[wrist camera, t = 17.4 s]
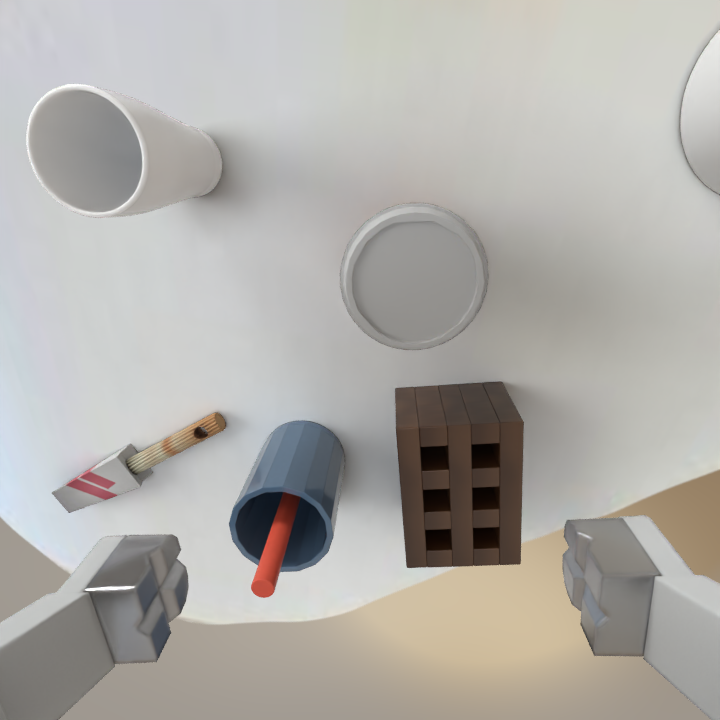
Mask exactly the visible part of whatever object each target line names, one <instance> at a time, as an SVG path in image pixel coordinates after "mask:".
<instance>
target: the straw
mask: <svg viewBox="0 0 720 720" xmlns="http://www.w3.org/2000/svg"><path fill="white" fill-rule="evenodd" d="M300 498H301V497H299V496H296V495H293V494H289V493H286V492H283V495H282V498H281V501H280V504H279V506H278V509H277V512H276V515H275V518H274V521H273V524H272V527H271V530H270V533H269V536H268V539H267V541H266V544H265V547H264V550H263V553H262V556H261V559H260V562H259V565H258V568H257V571H256V574H255V577H254V579H253V582H252V585H251V589H252V591H253V593H254V594H255V595H257V596H259V597H263V598H265V597H269V596H271V595H272V594H273V593H274V590H275V587H276V583H277V580H278V576H279V573H280V569H281V566H282V562H283V558H284V555H285V551H286V548H287V544H288V541H289V537H290V534H291V530H292V527H293V523H294V520H295V516H296V512H297V509H298V505H299V502H300Z"/></svg>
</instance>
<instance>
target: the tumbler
mask: <svg viewBox="0 0 720 720" xmlns="http://www.w3.org/2000/svg"><path fill="white" fill-rule="evenodd" d="M344 462H345V456H344V451H343V448H342V445H341V443H340V442H339V440H338V439H337V437H336V436H335V435H334V434H333V433H332V432H331V431H329V430H328V429H327V428H325V427H323V426H321V425H319V424H316V423H313V422H309V421H293V422H289V423H286V424H283V425H281V426H280V427H278V428H277V429H275V430H274V431H273V432H272V433H271V434H270V435H269V437H268V438H267V440H266V442H265V443H264V445H263V447H262V449H261V451H260V453H259V455H258V457H257V459H256V461H255V464H254V466H253V468H252V470H251V472H250V474H249V476H248V478H247V480H246V482H245V484H244V486H243V489H242V491H241V493H240V495H239V497H238V499H237V501H236V503H235V505H234V507H233V510H232V514H231V518H230V522H229V526H230V531H231V535H232V540H233V542H234V543H235V545H236V546H237V547H238V549H239V550H240V552H241V553H242V554H243V555H244V556H245V557H246V558H248V559H249V560H251V561H252V562H254V563H255V564H257V565H259V562H260V559H261V556H262V553H263V550H264V547H265V544H266V541H267V539H268V536H269V533H270V530H271V527H272V524H273V521H274V518H275V515H276V512H277V509H278V506H279V504H280V501H281V498H282V495H283V492H286V493H289V494H293V495H296V496H299V497H301V498H300V502H299V505H298V509H297V512H296V516H295V520H294V523H293V527H292V530H291V534H290V537H289V541H288V544H287V548H286V551H285V555H284V558H283V562H282V566H281V569H280V572H290V571H300V570H303V569H305V568H308V567H310V566H313V565H315V564H316V563H317V562H319V561H320V560H321V559H322V558H323V557H324V556H325V555H326V554H327V553H328V551H329V548H330V545H331V542H332V540H333V536H334V530H335V523H336V517H337V511H338V505H339V498H340V492H341V486H342V480H343V473H344V467H345V466H344Z"/></svg>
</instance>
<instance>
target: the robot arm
mask: <svg viewBox="0 0 720 720" xmlns="http://www.w3.org/2000/svg"><path fill="white" fill-rule="evenodd" d="M680 129H681V139H682V144H683V148H684V152H685V155H686V157H687V160H688V162H689V164H690V166H691V168H692V169H693V171H694V172H695V174H696V175H697V176H698V178H699V179H700V180H701V181H702V182H703V183H704V184H705V185H706V186H707V187H709V188H710V189H711V190H713V191H714V192H716V193H717V194H719V195H720V30H719V31H718V32H717V33H716V34H715V36H714V37H713V38H712V39H711V41H710V42H709V43H708V45H707V46H706V48H705V49H704V51H703V52H702V54H701V55H700V57H699V59H698V61H697V63H696V64H695V67H694V69H693V71H692V73H691V75H690V78H689V80H688V83H687V86H686V89H685V93H684V97H683V102H682V108H681V118H680ZM564 537H565V540H566V542H567V544H568V546H569V548H568V550H567V551H566V552H565V553H564V554H563V575H564V582H565V586H566V589H567V593H568V596H569V598H570V601H571V603H572V605H573V606H575V607H576V608H577V609H578V610H580V611H581V626H582V629H583V631H584V633H585V635H586V638H587V640H588V642H589V645H590V647H591V649H592V651H593V654H594V655H595V656H644V658H643V659H644V660H645V661H646V662H648V663H649V664H650V665H651V666H652V667H653V668H654V669H655V670H657V671H658V672H659V673H660V674H661V675H662V676H663V677H664V678H665V679H667V680H668V681H669V682H670V683H671V684H672V685H673V686H674V687H675V688H677V689H678V690H679V691H680V692H681V693H682V694H684V695H685V696H686V697H687V698H688V699H689V700H690V701H691V702H692V703H693V704H694V705H696V706H697V707H698V708H699V709H700V710H701V711H702V712H703V713H704V714H706V715H707V716H708V717H709V718H710V719H711V720H720V584H719V583H717V582H715V581H713V580H711V579H709V578H708V577H706V576H704V575H695V574H694V573H693V572H692V571H691V569H690V568H689V567H688V565H687V564H686V563H685V562H684V560H683V559H682V558H681V557H680V555H679V554H678V553H677V551H676V550H675V549H674V548H673V546H672V545H671V544H670V543H669V541H668V540H667V539H666V538H665V536H664V535H663V534H662V532H661V531H660V530H659V529H658V527H657V526H656V525H655V523H654V522H653V521H652V520H651V518H649V517H647V516H645V515H641V516H625V517H618V518H599V519H576V520H567V521H566V524H565V529H564ZM180 551H181V548H180V545H179V541H178V538H177V537H176V536H174V535H129V536H126V535H122V536H106V537H104V538H102V539H100V540H99V541H98V543H97V544H96V545H95V546H94V548H93V549H92V550H91V551H90V552H89V554H88V555H87V556H86V557H85V559H84V560H83V561H82V562H81V563H80V565H79V566H78V567H77V568H76V570H75V571H74V572H73V573H72V575H71V576H70V577H69V578H68V579H67V581H66V582H65V583H64V584H63V586H62V587H61V588H60V589H59V590H58V592H57V593H49V594H47V595H45V596H44V597H43V598H41V599H39V600H37V601H36V602H34V603H33V604H31V605H29V606H27V607H26V608H24V609H22V610H21V611H19V612H17V613H16V614H14V615H12V616H11V617H9V618H7V619H6V620H4V621H2V622H1V623H0V720H58V719H60V718H61V717H62V716H63V715H64V714H65V713H66V712H67V711H68V710H69V709H70V708H71V707H72V706H73V705H74V704H76V703H77V702H78V701H79V700H80V699H81V698H82V697H83V696H84V695H85V694H86V693H87V692H88V691H89V690H90V689H92V688H93V687H94V686H95V685H96V684H97V683H98V682H99V681H100V680H101V679H102V678H103V677H104V676H105V675H106V674H107V673H109V672H110V671H111V670H112V669H113V668H114V667H115V664H125V663H146V662H157V660H158V658H159V656H160V654H161V652H162V650H163V648H164V646H165V644H166V642H167V639H168V637H169V635H170V634H171V631H170V627H169V624H168V623H169V622H171V621H172V620H173V619H174V618H176V617H177V616H178V615H179V614H180V613H181V611H182V609H183V606H184V604H185V602H186V597H187V592H188V574H187V570H186V567H185V566H184V565H183V564H182V563H181V562H180V561H179V560H178V559H177V556H178V555H179V553H180Z"/></svg>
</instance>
